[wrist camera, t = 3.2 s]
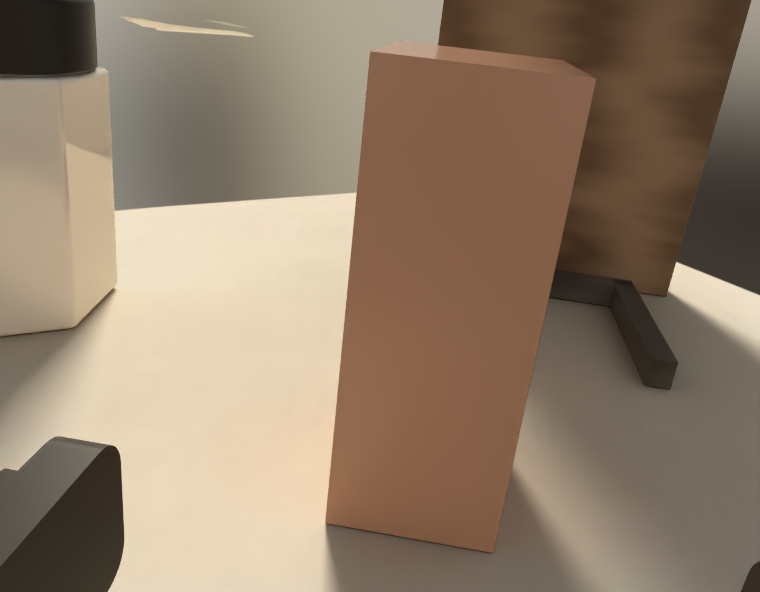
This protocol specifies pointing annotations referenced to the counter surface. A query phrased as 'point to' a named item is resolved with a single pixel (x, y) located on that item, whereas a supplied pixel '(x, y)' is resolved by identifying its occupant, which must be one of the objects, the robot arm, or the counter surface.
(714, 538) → the counter surface
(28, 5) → the jar
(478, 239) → the tall terracotta pillar
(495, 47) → the shelf
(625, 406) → the counter surface
